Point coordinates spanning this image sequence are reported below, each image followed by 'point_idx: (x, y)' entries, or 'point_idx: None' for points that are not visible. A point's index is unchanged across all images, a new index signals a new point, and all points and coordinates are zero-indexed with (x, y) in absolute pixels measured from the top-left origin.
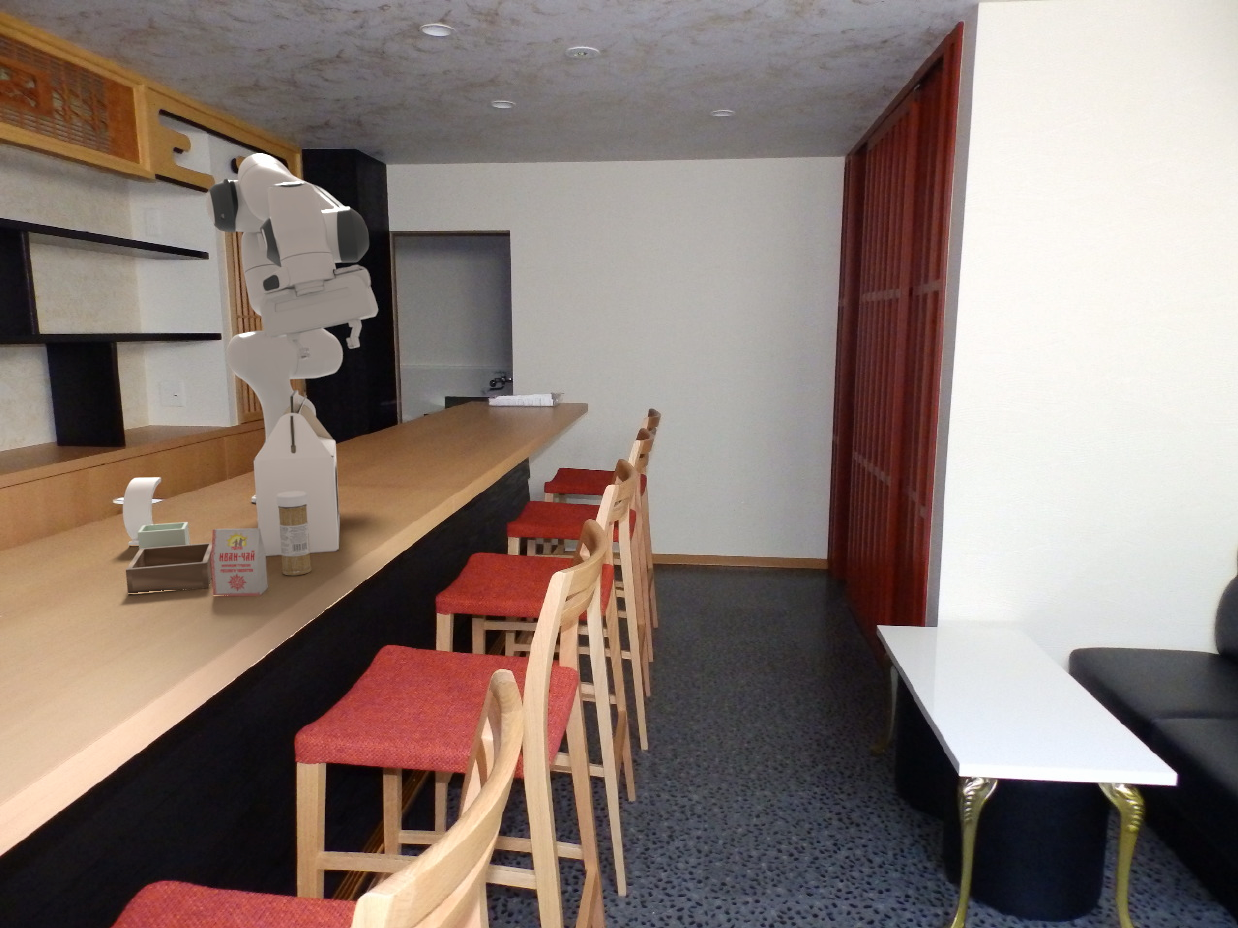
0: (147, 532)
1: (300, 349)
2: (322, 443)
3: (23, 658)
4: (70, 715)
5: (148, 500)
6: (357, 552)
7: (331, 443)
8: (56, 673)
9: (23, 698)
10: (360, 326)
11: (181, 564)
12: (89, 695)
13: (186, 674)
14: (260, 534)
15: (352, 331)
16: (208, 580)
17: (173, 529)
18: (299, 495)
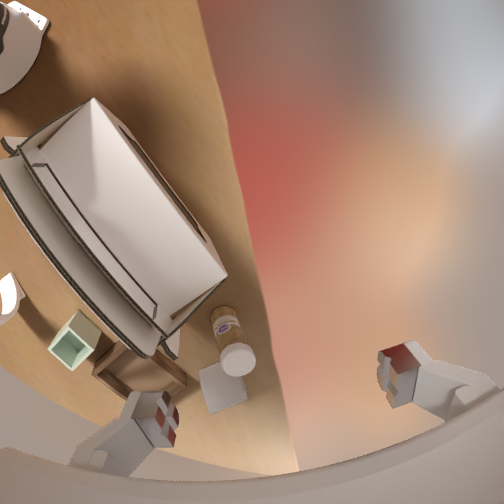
0: (76, 366)
1: (157, 444)
2: (127, 188)
3: (200, 458)
4: (274, 465)
5: (4, 320)
6: (234, 235)
7: (121, 148)
8: (232, 459)
9: (243, 468)
10: (478, 383)
11: (171, 395)
12: (266, 459)
13: (289, 439)
14: (245, 393)
15: (436, 412)
16: (184, 375)
17: (87, 354)
18: (254, 366)
